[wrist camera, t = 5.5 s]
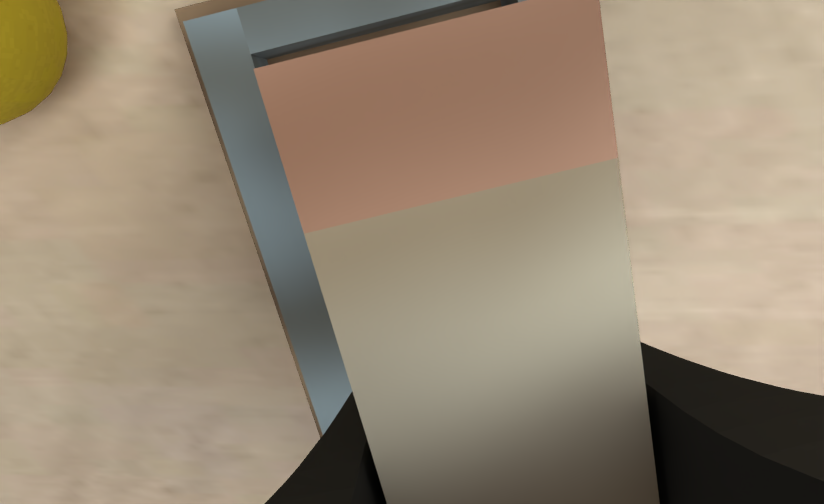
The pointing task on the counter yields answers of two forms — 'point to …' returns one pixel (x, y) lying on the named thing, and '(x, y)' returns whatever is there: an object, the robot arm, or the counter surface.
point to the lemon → (29, 54)
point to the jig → (258, 153)
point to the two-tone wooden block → (475, 254)
